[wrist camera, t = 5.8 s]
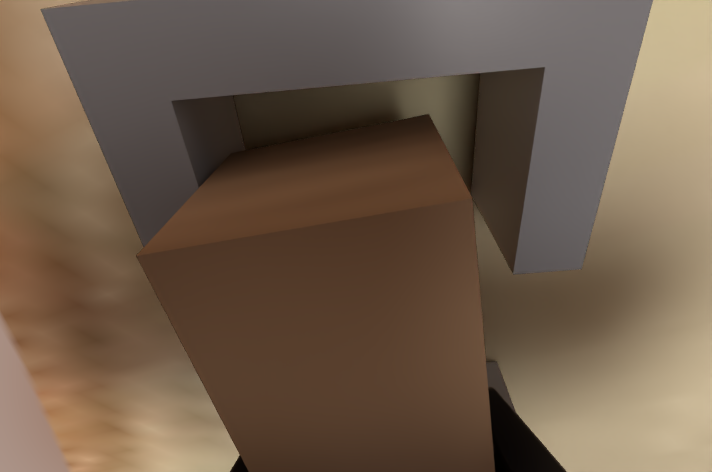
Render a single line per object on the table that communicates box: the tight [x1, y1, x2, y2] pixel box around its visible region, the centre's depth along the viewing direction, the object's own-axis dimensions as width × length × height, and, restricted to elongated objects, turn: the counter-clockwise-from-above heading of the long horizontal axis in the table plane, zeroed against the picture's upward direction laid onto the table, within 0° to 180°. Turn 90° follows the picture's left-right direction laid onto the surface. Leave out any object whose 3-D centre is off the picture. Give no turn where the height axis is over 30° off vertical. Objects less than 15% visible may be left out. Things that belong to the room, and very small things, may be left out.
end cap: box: [41, 0, 653, 275], centre depth 8 cm, size 5×7×3 cm, turn 95°
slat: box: [136, 114, 495, 472], centre depth 8 cm, size 11×4×4 cm, turn 12°
